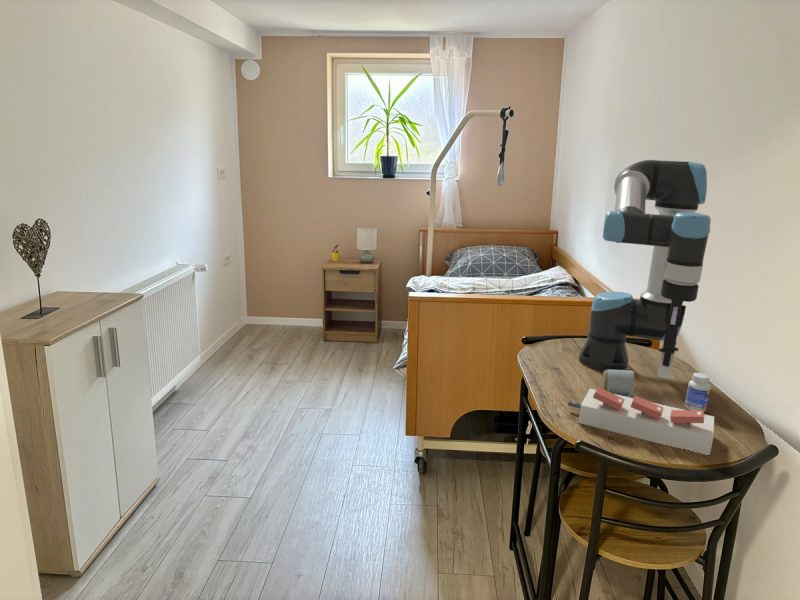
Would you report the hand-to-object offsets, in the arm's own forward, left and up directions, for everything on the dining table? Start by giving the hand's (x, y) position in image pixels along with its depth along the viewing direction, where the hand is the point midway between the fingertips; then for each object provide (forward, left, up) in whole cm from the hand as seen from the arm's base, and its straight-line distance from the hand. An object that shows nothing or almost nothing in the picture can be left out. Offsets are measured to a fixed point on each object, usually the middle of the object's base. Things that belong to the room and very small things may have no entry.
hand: (663, 376), depth 140 cm
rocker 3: (0, +7, -9) cm, 11 cm away
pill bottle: (-24, +9, -16) cm, 30 cm away
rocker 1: (0, -11, -9) cm, 14 cm away
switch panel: (-3, -4, -16) cm, 17 cm away
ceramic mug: (-19, -11, -16) cm, 28 cm away
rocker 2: (0, -2, -9) cm, 9 cm away
